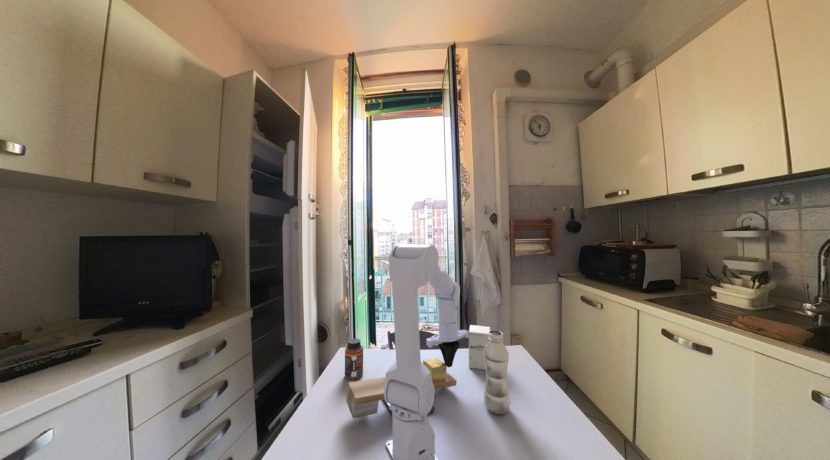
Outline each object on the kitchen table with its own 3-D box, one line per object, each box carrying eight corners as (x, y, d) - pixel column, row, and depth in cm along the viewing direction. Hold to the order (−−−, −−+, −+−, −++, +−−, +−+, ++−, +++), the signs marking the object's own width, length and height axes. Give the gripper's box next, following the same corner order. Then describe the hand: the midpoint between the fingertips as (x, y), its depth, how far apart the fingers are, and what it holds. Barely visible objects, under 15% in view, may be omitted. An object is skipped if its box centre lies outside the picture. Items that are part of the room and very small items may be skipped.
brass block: (445, 380, 71) (446, 365, 71) (430, 382, 69) (432, 367, 69) (435, 371, 75) (437, 358, 76) (421, 373, 73) (423, 359, 73)
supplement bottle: (358, 381, 77) (358, 345, 77) (341, 379, 78) (341, 343, 79) (366, 371, 83) (366, 337, 83) (349, 369, 84) (349, 336, 84)
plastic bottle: (493, 421, 61) (492, 339, 61) (479, 403, 67) (478, 329, 68) (515, 415, 62) (514, 336, 63) (499, 398, 69) (498, 327, 69)
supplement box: (468, 368, 85) (467, 331, 85) (469, 358, 92) (469, 324, 92) (490, 371, 83) (490, 333, 83) (490, 360, 90) (490, 326, 90)
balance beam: (454, 396, 71) (456, 380, 72) (353, 418, 57) (355, 398, 57) (441, 383, 77) (442, 368, 78) (346, 400, 63) (348, 382, 64)
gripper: (458, 313, 82) (458, 354, 82) (420, 320, 75) (421, 365, 75) (473, 319, 76) (473, 363, 75) (433, 328, 69) (433, 377, 68)
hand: (448, 365), depth 75 cm, fingers closed
